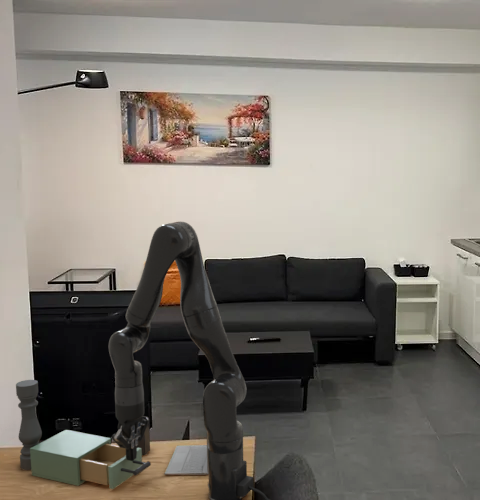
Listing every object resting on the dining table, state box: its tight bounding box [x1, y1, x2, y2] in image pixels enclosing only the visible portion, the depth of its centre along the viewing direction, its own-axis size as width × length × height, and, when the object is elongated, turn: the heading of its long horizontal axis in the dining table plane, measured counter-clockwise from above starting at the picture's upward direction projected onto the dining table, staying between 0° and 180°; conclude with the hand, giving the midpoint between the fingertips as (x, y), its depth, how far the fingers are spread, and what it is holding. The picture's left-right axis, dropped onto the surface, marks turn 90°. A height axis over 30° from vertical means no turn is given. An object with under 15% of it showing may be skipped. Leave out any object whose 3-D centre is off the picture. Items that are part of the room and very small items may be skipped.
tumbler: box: [137, 415, 151, 457], centre depth 198 cm, size 6×6×10 cm
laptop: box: [164, 433, 208, 476], centre depth 193 cm, size 18×12×13 cm
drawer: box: [79, 443, 152, 490], centre depth 182 cm, size 21×12×6 cm, turn 70°
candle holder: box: [15, 379, 43, 471], centre depth 188 cm, size 6×6×25 cm
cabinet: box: [30, 429, 112, 487], centre depth 187 cm, size 17×14×8 cm
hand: (131, 459), depth 180 cm, fingers closed
